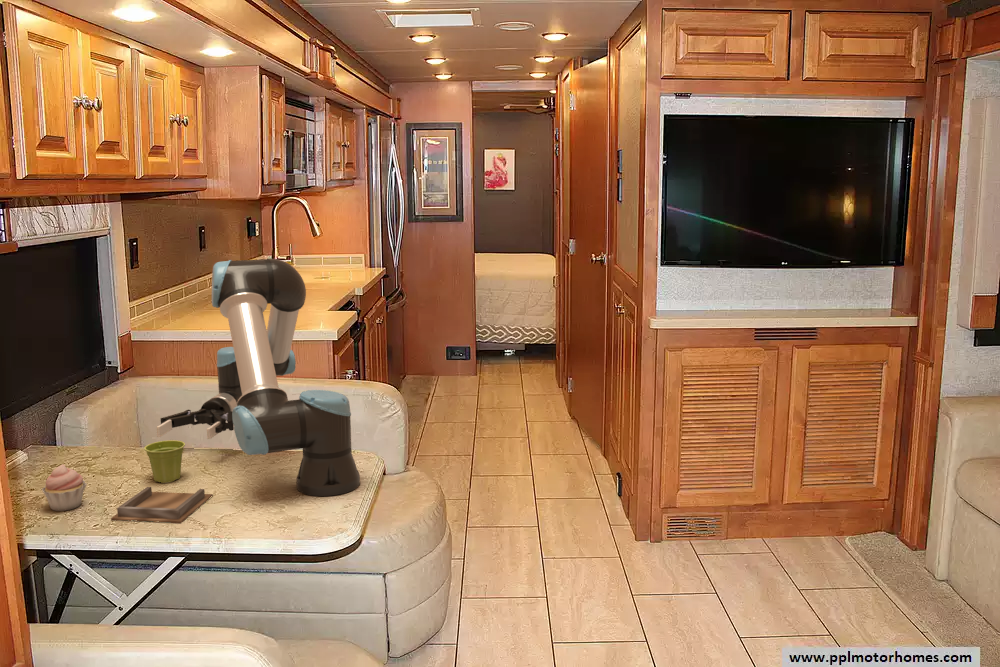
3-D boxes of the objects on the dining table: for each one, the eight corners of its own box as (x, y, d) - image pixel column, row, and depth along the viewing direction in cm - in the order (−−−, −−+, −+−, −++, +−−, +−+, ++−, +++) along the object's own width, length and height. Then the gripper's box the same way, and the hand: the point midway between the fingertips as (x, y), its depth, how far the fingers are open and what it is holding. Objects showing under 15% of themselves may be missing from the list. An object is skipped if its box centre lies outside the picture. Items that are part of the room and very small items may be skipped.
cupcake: (96, 505, 197) (92, 463, 195) (54, 517, 190) (49, 474, 188) (78, 495, 203) (74, 455, 201) (36, 507, 196) (32, 465, 194)
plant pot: (147, 475, 216) (144, 442, 215) (186, 470, 220) (184, 438, 218) (147, 487, 208) (144, 453, 206) (188, 482, 211) (185, 448, 209)
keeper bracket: (212, 496, 202) (212, 486, 202) (180, 523, 187) (179, 512, 186) (148, 493, 204) (147, 483, 203) (111, 520, 188) (110, 509, 188)
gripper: (261, 424, 242) (230, 448, 221) (177, 420, 245) (138, 445, 224) (260, 398, 240) (228, 420, 220) (175, 395, 243) (136, 417, 222)
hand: (183, 433), depth 222 cm, fingers open, 13 cm apart
